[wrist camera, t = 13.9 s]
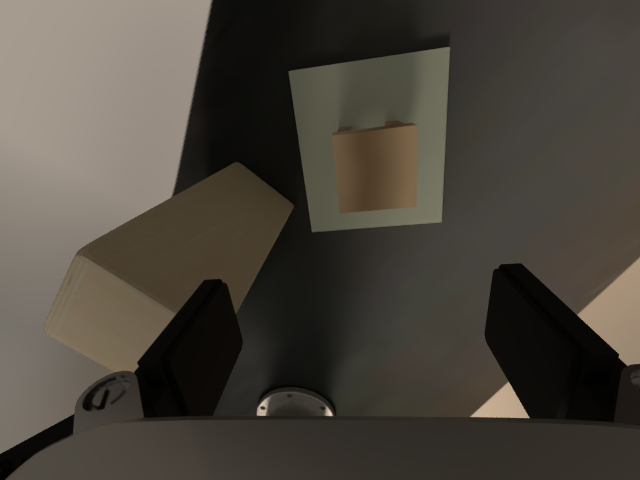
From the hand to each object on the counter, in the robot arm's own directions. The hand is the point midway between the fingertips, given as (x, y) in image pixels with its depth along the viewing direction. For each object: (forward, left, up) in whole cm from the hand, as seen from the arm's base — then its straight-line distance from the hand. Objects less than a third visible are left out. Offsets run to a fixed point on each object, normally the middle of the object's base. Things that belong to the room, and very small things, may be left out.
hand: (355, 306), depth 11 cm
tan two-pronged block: (+1, -2, -22) cm, 22 cm away
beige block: (-3, +12, -23) cm, 26 cm away
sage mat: (+2, -2, -23) cm, 23 cm away
